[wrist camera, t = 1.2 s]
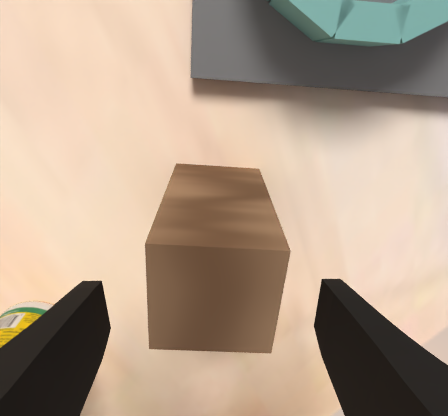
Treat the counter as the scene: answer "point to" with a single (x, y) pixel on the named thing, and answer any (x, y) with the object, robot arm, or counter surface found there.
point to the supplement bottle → (20, 318)
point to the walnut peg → (215, 262)
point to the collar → (324, 43)
